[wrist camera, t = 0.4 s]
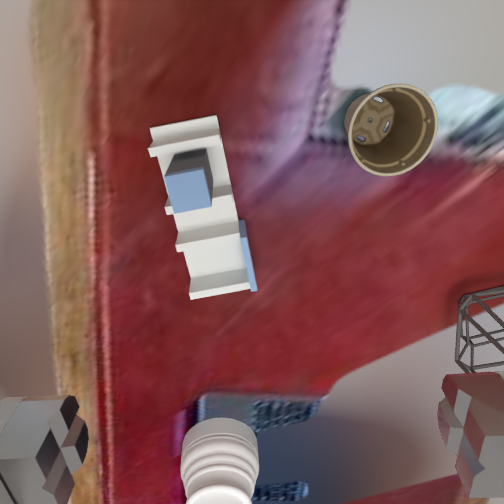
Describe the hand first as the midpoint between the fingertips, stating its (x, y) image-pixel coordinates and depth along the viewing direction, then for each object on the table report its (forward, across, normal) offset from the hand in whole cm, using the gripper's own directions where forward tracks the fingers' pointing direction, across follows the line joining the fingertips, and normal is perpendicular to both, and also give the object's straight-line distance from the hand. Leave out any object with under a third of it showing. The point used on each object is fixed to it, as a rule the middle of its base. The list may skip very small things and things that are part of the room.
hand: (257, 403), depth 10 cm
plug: (+45, +8, +8) cm, 46 cm away
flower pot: (+47, -13, +4) cm, 49 cm away
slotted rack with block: (+45, +8, +14) cm, 48 cm away
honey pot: (+43, +10, +57) cm, 72 cm away
